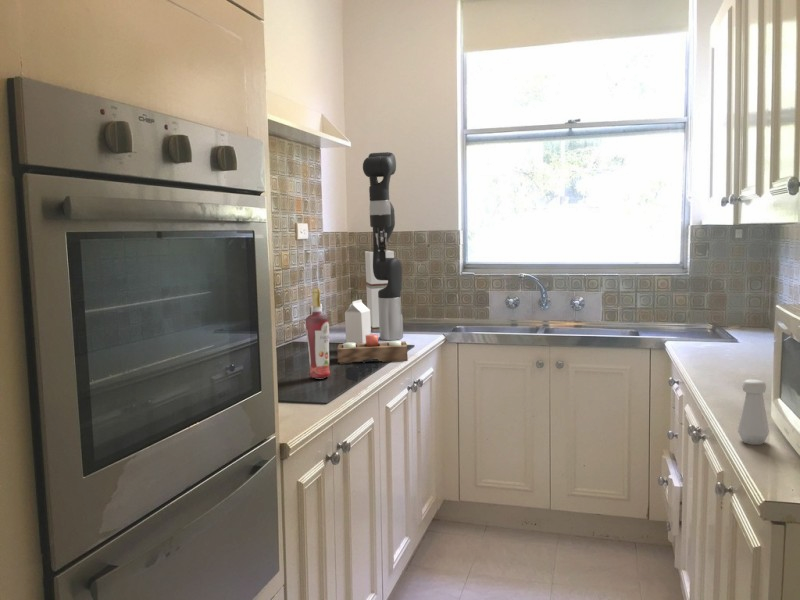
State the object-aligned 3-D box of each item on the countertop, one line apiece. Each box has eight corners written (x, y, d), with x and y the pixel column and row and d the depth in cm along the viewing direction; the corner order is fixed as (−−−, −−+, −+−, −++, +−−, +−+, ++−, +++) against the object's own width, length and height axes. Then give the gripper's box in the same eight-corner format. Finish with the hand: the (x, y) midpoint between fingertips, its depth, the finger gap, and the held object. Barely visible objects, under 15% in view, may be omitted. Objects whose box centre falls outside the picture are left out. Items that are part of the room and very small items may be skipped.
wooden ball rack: (338, 363, 236) (337, 349, 235) (339, 357, 245) (338, 344, 245) (407, 360, 237) (407, 346, 236) (405, 355, 246) (405, 341, 246)
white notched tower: (396, 330, 303) (393, 251, 298) (372, 332, 300) (369, 252, 296) (390, 326, 314) (388, 250, 310) (368, 328, 311) (365, 251, 307)
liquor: (321, 381, 209) (317, 290, 206) (303, 379, 213) (298, 290, 210) (336, 376, 215) (332, 288, 212) (318, 374, 219) (314, 287, 216)
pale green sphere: (343, 354, 238) (342, 344, 238) (343, 352, 242) (343, 342, 242) (355, 354, 238) (355, 344, 238) (356, 351, 243) (355, 342, 242)
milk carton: (371, 349, 260) (369, 299, 258) (363, 352, 254) (360, 301, 252) (355, 348, 263) (353, 299, 261) (346, 351, 257) (344, 301, 255)
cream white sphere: (389, 352, 239) (388, 342, 238) (388, 350, 243) (388, 340, 243) (401, 352, 239) (401, 342, 239) (401, 349, 243) (400, 340, 243)
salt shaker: (739, 435, 146) (741, 376, 145) (770, 439, 143) (771, 378, 141) (735, 443, 141) (736, 381, 140) (766, 448, 138) (768, 385, 137)
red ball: (365, 346, 238) (365, 336, 238) (366, 344, 243) (365, 334, 242) (378, 346, 238) (378, 336, 238) (378, 343, 243) (378, 334, 242)
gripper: (369, 214, 251) (371, 261, 253) (370, 214, 238) (372, 263, 240) (389, 213, 252) (391, 260, 254) (391, 213, 238) (393, 262, 241)
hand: (382, 261), depth 247 cm, fingers closed
